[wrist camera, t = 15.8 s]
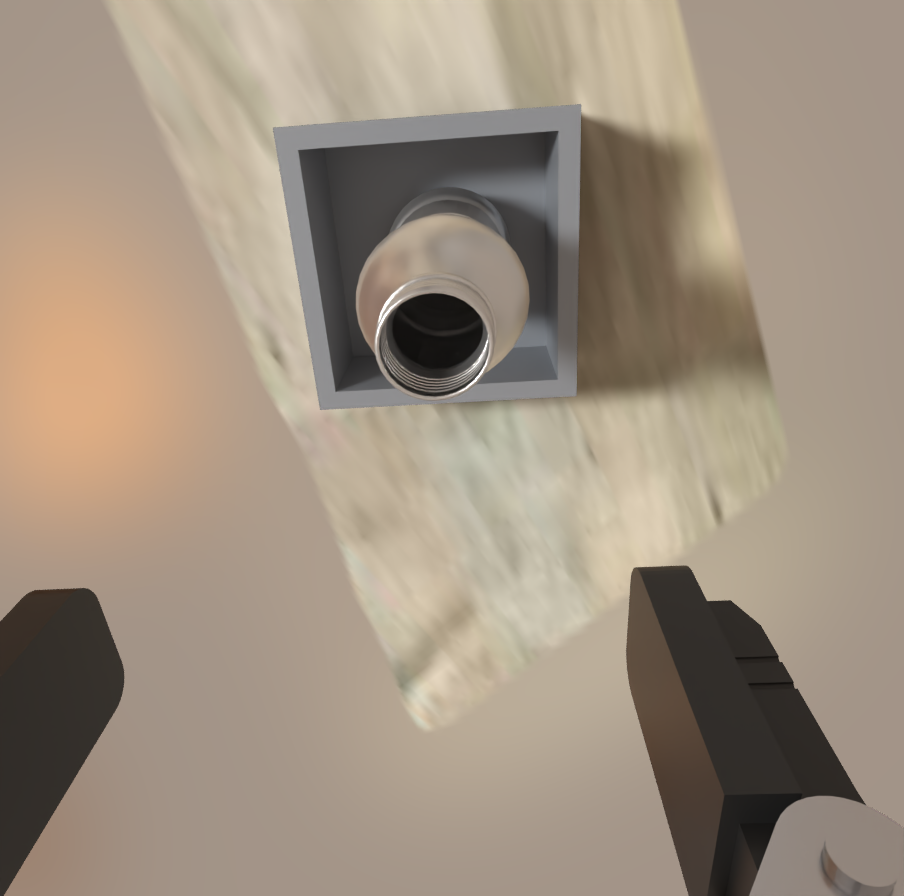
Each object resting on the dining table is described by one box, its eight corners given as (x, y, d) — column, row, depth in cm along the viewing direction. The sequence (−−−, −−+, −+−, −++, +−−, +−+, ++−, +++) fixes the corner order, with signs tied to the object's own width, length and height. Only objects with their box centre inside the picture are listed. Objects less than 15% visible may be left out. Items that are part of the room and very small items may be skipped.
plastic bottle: (372, 215, 37) (283, 295, 19) (481, 161, 36) (494, 195, 18) (420, 317, 40) (381, 472, 22) (525, 271, 39) (574, 396, 21)
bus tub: (306, 127, 36) (272, 127, 30) (561, 107, 36) (581, 104, 29) (342, 367, 43) (320, 410, 36) (560, 355, 42) (576, 396, 36)
